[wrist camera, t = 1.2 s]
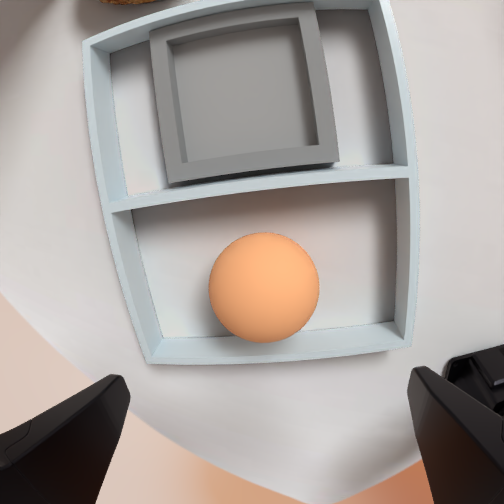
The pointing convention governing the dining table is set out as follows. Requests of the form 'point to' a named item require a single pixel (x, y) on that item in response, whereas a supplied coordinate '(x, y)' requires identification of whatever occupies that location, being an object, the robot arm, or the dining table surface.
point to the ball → (264, 287)
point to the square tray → (243, 92)
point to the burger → (126, 1)
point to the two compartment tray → (120, 203)
